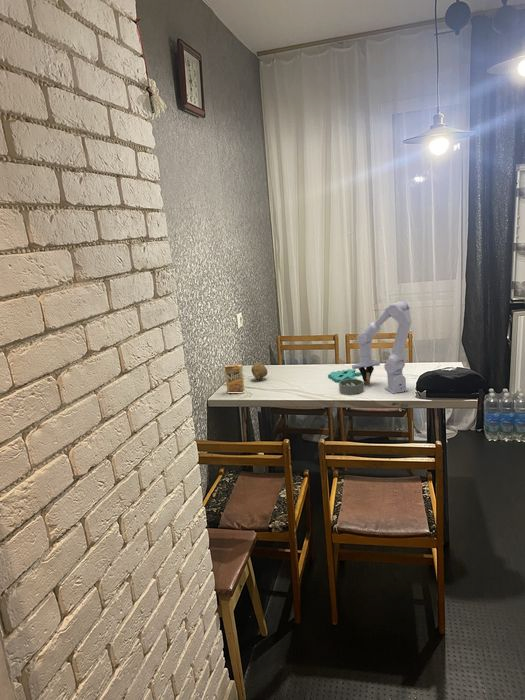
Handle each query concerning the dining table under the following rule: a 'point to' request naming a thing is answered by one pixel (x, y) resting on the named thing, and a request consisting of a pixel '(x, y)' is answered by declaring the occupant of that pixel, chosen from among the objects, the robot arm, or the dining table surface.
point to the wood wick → (367, 379)
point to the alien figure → (343, 375)
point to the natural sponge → (259, 371)
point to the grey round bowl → (351, 386)
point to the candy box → (234, 378)
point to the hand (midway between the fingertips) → (366, 380)
